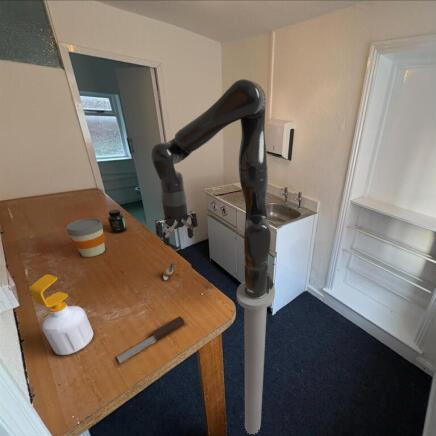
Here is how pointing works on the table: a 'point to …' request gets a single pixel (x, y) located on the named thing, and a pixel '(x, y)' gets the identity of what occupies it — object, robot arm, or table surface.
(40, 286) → the soap bottle
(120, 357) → the knife
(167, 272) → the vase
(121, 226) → the supplement bottle
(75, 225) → the reusable coffee cup
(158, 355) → the table surface
